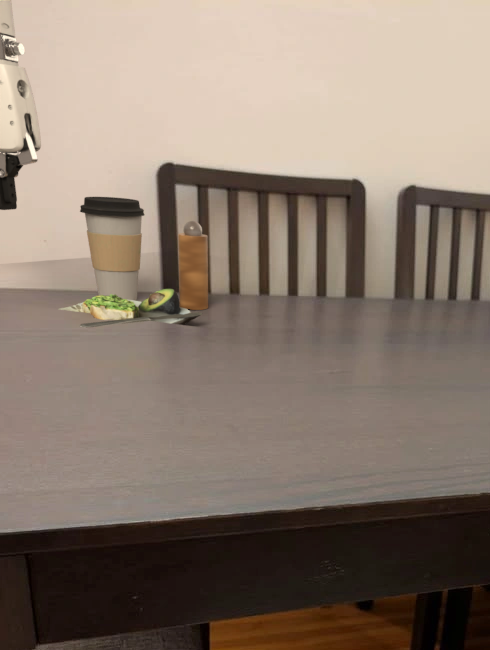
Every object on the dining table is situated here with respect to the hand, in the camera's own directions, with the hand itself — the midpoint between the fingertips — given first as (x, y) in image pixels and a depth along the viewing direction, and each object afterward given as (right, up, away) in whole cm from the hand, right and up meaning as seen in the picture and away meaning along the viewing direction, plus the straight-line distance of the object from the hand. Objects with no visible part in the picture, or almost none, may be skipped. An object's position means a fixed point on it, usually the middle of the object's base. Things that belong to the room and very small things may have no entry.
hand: (4, 208), depth 98 cm
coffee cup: (+9, -7, +19) cm, 23 cm away
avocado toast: (+15, -15, +4) cm, 22 cm away
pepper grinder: (+21, -9, +18) cm, 29 cm away
